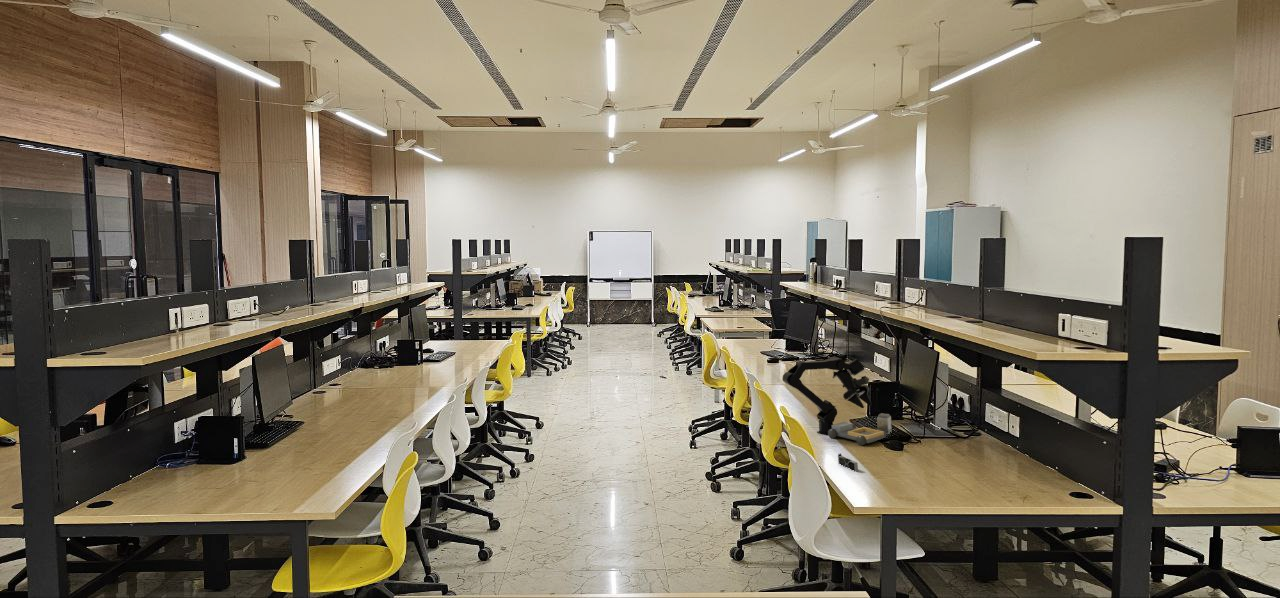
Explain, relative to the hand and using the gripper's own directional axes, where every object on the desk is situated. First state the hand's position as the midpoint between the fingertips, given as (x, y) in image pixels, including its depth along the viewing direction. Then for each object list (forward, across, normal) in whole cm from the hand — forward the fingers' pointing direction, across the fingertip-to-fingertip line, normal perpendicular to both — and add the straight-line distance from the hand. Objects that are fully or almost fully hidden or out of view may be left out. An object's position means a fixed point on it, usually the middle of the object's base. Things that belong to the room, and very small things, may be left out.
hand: (867, 406), depth 337 cm
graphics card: (+22, -50, +2) cm, 55 cm away
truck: (+10, -9, +10) cm, 17 cm away
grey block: (+15, +3, +3) cm, 15 cm away
